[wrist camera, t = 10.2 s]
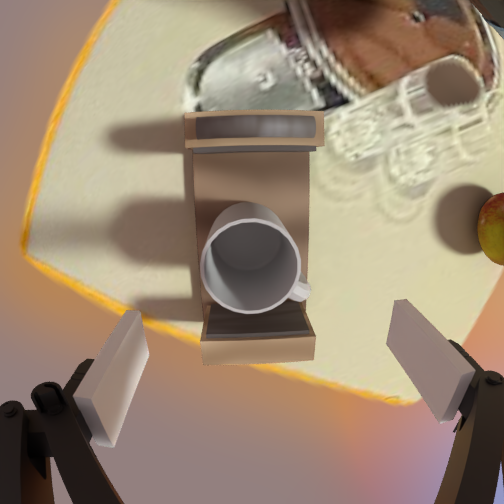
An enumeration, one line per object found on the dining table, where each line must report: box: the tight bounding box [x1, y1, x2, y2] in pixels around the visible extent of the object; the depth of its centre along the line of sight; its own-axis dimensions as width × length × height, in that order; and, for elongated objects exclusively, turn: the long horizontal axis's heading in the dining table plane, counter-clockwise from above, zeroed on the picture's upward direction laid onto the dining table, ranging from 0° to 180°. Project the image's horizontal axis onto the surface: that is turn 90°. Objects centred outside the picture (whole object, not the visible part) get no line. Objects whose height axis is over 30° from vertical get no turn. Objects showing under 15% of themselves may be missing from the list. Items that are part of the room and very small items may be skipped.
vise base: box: [193, 152, 316, 365], centre depth 28 cm, size 22×11×8 cm, turn 1°
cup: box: [200, 202, 311, 314], centre depth 27 cm, size 7×10×9 cm
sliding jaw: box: [185, 110, 324, 154], centre depth 24 cm, size 3×10×9 cm, turn 91°
